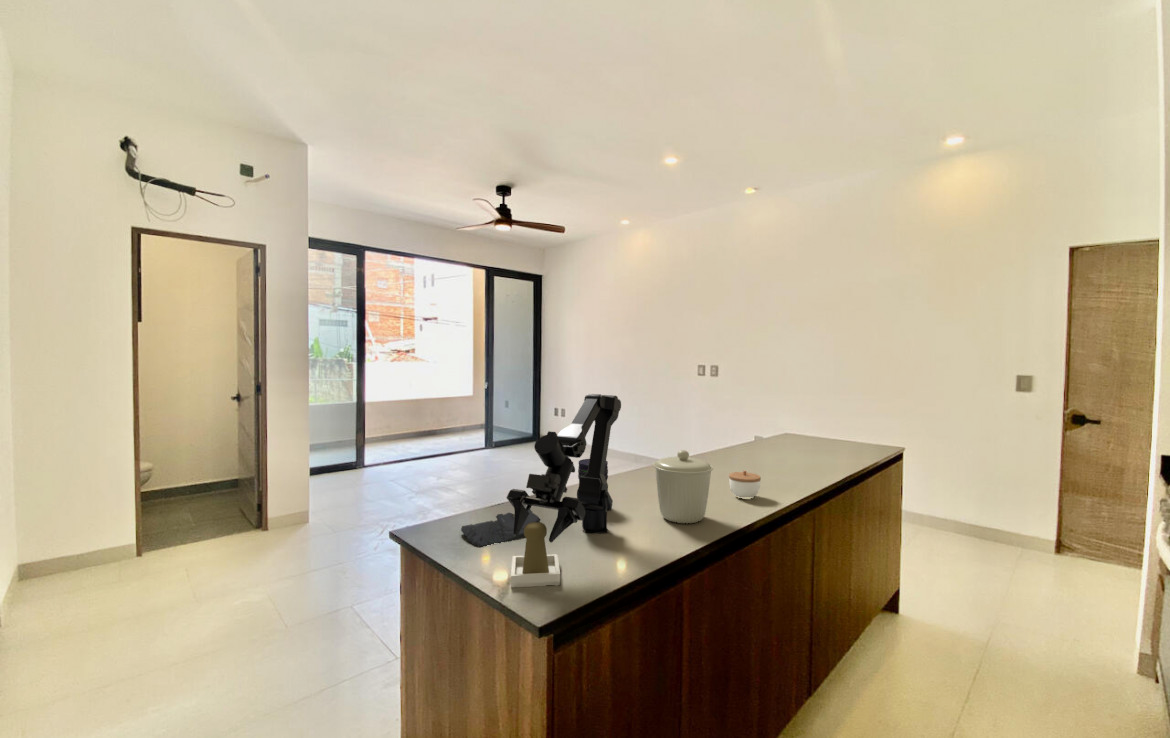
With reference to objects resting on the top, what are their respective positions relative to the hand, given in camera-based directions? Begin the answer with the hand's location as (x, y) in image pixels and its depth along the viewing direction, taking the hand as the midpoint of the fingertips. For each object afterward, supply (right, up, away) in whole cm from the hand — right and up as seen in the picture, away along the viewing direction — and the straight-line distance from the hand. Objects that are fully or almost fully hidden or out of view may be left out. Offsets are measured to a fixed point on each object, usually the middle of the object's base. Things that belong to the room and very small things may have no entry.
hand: (532, 538), depth 111 cm
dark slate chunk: (-12, -9, +29) cm, 32 cm away
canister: (+42, -8, +41) cm, 59 cm away
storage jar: (+14, -8, +52) cm, 55 cm away
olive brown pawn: (+1, -8, +2) cm, 9 cm away
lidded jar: (+68, -8, +65) cm, 94 cm away
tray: (+1, -9, +2) cm, 9 cm away
